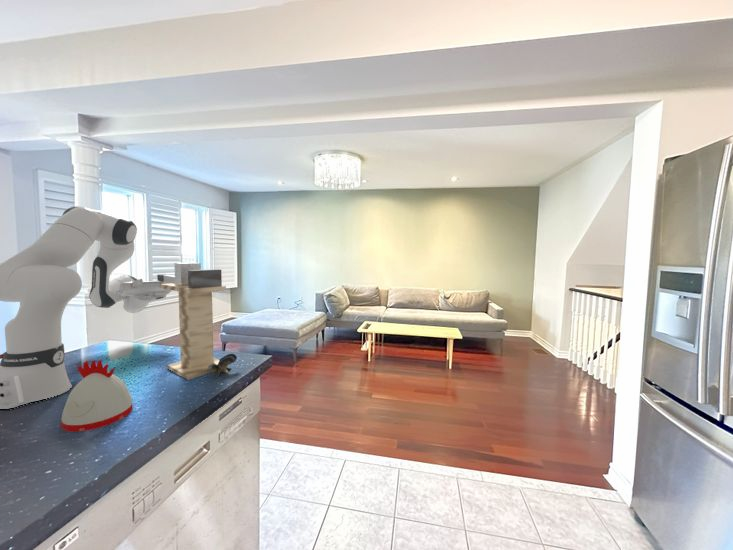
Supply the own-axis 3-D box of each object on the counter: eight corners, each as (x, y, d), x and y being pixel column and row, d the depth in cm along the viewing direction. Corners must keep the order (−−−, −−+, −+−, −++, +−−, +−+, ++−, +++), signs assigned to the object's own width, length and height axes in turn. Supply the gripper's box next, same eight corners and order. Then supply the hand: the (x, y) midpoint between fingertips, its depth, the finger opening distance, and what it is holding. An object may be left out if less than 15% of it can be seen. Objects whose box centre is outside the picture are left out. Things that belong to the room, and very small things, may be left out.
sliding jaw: (151, 281, 123) (150, 261, 123) (170, 280, 129) (169, 261, 128) (181, 285, 108) (180, 263, 108) (201, 284, 114) (200, 263, 113)
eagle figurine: (232, 375, 103) (242, 361, 112) (219, 359, 101) (230, 346, 110) (215, 385, 104) (225, 371, 112) (201, 370, 102) (213, 356, 111)
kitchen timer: (91, 404, 85) (88, 352, 84) (144, 402, 86) (141, 351, 85) (45, 433, 71) (40, 372, 70) (108, 430, 73) (104, 370, 72)
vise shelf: (160, 365, 114) (156, 268, 111) (198, 355, 125) (195, 267, 123) (190, 381, 100) (187, 271, 97) (230, 368, 112) (228, 269, 109)
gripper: (113, 288, 130) (122, 274, 123) (166, 285, 147) (176, 272, 140) (116, 302, 129) (125, 288, 121) (169, 297, 145) (180, 284, 138)
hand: (153, 279), depth 131 cm, fingers open, 8 cm apart
